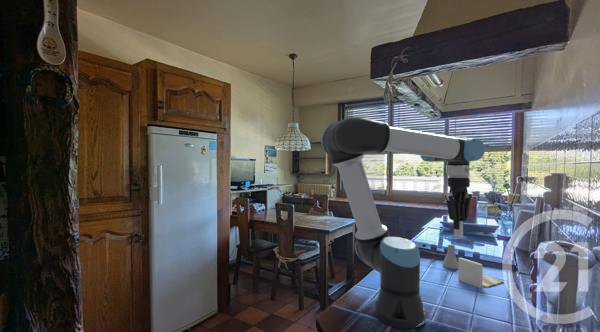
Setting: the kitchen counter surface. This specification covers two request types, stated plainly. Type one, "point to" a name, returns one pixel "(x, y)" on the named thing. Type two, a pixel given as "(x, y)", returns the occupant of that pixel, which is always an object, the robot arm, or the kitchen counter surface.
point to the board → (490, 281)
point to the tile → (470, 272)
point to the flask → (451, 258)
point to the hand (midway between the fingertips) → (458, 237)
